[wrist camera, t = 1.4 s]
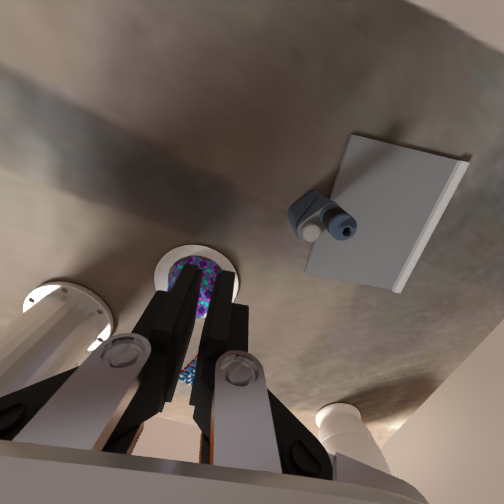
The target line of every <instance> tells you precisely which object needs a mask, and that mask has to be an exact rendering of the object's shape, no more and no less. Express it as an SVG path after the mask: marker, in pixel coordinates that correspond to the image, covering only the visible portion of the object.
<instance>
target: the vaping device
mask: <svg viewBox="0 0 504 504" xmlns="http://www.w3.org/2000/svg"><path fill="white" fill-rule="evenodd" d="M288 218H289V221H290V223H291V225H292V227H293V230H294V232H295V234H296V236H297V237H298V238H300V239H302V240H304V241H305V242H307V243H314V242H316V241H318V240H319V238H320V237H321V235H322V234H324V233H325V232H327V231H328V232H329V233H330V234H331V235H332V237H333V238H335V239H336V240H340V241H344V240H347V239H349V238H351V237H352V236H353V235H354V234H355V233H356V230H357V222H356V220H355V219H354V218H353V217H352V216H351V215H350V214H348V213H347V212H346V211H345V210H343V209H342V208H341V206H340V205H338V204H337V202H334V201H333V200H331V199H328V198H326V197H325V196H323V195H322V194H321V193H320V192H319V191H317V190H313V191H311V192H310V193H308V194H307V195H306V196H304V197H303V198H302V199H300V200H299V201H297V202H296V203H295V204H293V205H292V206H291V207H290V208H289V211H288Z"/></svg>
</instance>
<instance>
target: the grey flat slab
mask: <svg viewBox="0 0 504 504" xmlns="http://www.w3.org/2000/svg"><path fill="white" fill-rule="evenodd" d="M468 165H469V163H468V162H464V161H459V160H454V159H450V158H446V157H442V156H438V155H434V154H430V153H426V152H422V151H418V150H414V149H410V148H406V147H401V146H397V145H393V144H389V143H385V142H381V141H377V140H373V139H369V138H365V137H361V136H357V135H353V134H350V137H349V140H348V143H347V146H346V149H345V152H344V155H343V158H342V161H341V163H340V166H339V169H338V172H337V175H336V178H335V181H334V184H333V187H332V190H331V193H330V196H329V199H331V200H333V201H334V202H337V204H338V205H340V206H341V208H342V209H343V210H345V211H346V212H347V213H348V214H350V215H351V216H352V217H353V218H354V219H355V220H356V222H357V230H356V233H355V234H354V235H353V236H352V237H351V238H349V239H347V240H344V241H340V240H336V239H335V238H333V237H332V235H331V234H330V233H329V232H328V231H327V232H325V233H324V234H322V235H321V237H320V238H319V240H318V241H316V242H314V243H313V246H312V249H311V252H310V255H309V258H308V261H307V264H306V267H305V270H304V272H305V273H307V274H312V275H317V276H323V277H328V278H333V279H338V280H343V281H349V282H354V283H359V284H364V285H369V286H375V287H380V288H385V289H390V290H392V291H393V292H396V293H401V291H402V289H403V287H404V285H405V283H406V281H407V280H408V278H409V276H410V274H411V272H412V270H413V268H414V266H415V265H416V263H417V261H418V259H419V257H420V255H421V253H422V251H423V250H424V248H425V246H426V244H427V242H428V240H429V238H430V237H431V235H432V233H433V231H434V229H435V227H436V225H437V223H438V222H439V220H440V218H441V216H442V214H443V212H444V210H445V208H446V207H447V205H448V203H449V201H450V199H451V197H452V195H453V193H454V192H455V190H456V188H457V186H458V184H459V182H460V180H461V178H462V177H463V175H464V173H465V171H466V169H467V167H468Z"/></svg>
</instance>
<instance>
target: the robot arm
mask: <svg viewBox="0 0 504 504" xmlns="http://www.w3.org/2000/svg"><path fill="white" fill-rule="evenodd" d="M235 273H236V272H232V271H227V270H223V272H222V273H219V272H217V275H216V279H215V283H214V287H213V291H212V295H211V299H210V303H209V307H208V311H207V315H206V318H205V322H204V326H203V330H202V335H201V340H200V345H199V351H198V356H197V362H196V368H195V374H194V379H193V385H192V391H191V397H190V402H189V405H193V406H195V409H194V415H193V419H194V421H195V422H196V423H197V425H198V426H199V428H200V429H201V436H200V451H199V463H193V462H184V461H176V460H167V459H160V458H151V457H142V456H135V455H131V454H132V452H133V450H134V448H135V445H136V443H137V441H138V439H139V437H140V435H141V433H142V431H143V429H144V426H145V423H146V420H148V419H149V418H151V417H152V416H154V415H156V414H157V413H158V412H162V410H163V407H164V404H165V402H171V401H172V398H173V395H174V392H175V388H176V385H177V382H178V378H179V375H180V372H181V368H182V365H183V362H184V358H185V355H186V352H187V349H188V345H189V342H190V339H191V335H192V332H193V329H194V324H195V319H196V313H197V306H198V300H199V294H200V287H201V281H202V275H203V269H199V265H195V264H190V263H185V264H184V266H183V268H182V270H181V272H180V274H179V275H178V277H177V279H176V281H175V283H174V285H173V287H172V289H171V291H170V292H168V291H162V290H157V292H156V293H155V295H154V296H153V298H152V300H151V301H150V303H149V304H148V306H147V308H146V309H145V311H144V313H143V314H142V316H141V317H140V319H139V321H138V322H137V324H136V326H135V327H134V329H133V331H132V332H131V333H121V334H118V335H114V336H112V337H110V335H111V334H112V331H113V327H114V321H113V317H112V314H111V312H110V310H109V308H108V306H107V305H106V304H105V302H104V301H103V300H102V299H101V298H100V297H99V296H97V295H96V294H95V293H93V292H92V291H90V290H88V289H86V288H85V287H82V286H80V285H77V284H74V283H69V282H59V281H57V282H49V283H46V284H42V285H41V286H39V287H37V288H36V289H34V290H33V291H32V292H31V293H29V295H28V296H27V297H26V299H25V302H24V307H23V311H24V313H22V314H21V315H20V316H18V317H17V318H16V319H14V320H13V321H12V322H11V323H9V324H8V325H7V326H5V327H4V328H3V329H2V330H0V504H429V503H428V502H427V500H426V499H425V498H424V496H423V495H422V494H421V493H420V492H419V491H418V490H417V489H416V488H415V487H413V486H412V485H410V484H409V483H407V482H405V481H404V480H401V479H399V478H396V477H394V476H392V475H390V474H387V473H385V472H383V471H380V470H378V469H376V468H373V467H371V466H369V465H366V464H364V463H362V462H359V461H357V460H355V459H352V458H350V457H348V456H345V455H343V454H341V453H339V452H336V453H335V455H333V454H330V453H328V452H327V451H326V449H325V448H324V446H323V445H322V444H321V443H320V441H319V440H318V439H317V438H316V437H315V436H314V435H313V434H312V433H311V432H310V431H309V430H308V429H307V428H306V427H305V426H304V425H303V424H302V423H301V422H300V421H299V420H298V419H297V418H296V417H295V416H294V415H293V414H292V413H291V412H290V411H289V410H288V409H287V408H286V407H285V406H284V405H283V404H282V403H281V402H280V401H279V400H278V399H277V398H276V397H275V396H274V395H273V394H272V393H271V392H270V391H269V390H268V389H267V386H266V381H265V375H264V370H263V367H262V365H261V363H260V362H259V360H258V359H257V358H256V357H254V356H253V355H252V354H250V353H248V319H249V306H247V305H241V304H236V303H232V299H233V290H234V282H235ZM109 337H110V338H109ZM91 350H94V351H93V352H92V353H91V354H90V355H89V357H88V358H87V359H86V360H85V361H84V362H83V363H82V364H81V365H80V366H78V363H77V362H78V361H79V359H80V358H81V357H82V356H83V354H84V353H85V352H87V351H91Z"/></svg>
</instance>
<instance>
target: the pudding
mask: <svg viewBox="0 0 504 504" xmlns="http://www.w3.org/2000/svg"><path fill="white" fill-rule="evenodd" d="M193 255H196V256H203V257H206V258H209V259H211V260H213V261H214V262H216V263H217V264H218V265H219V266H220V267H221V269H222V270H227V271H232V272H236V271H235V269H234V267H233V265H232V264H231V263H230V262H229V260H228V259H227V258H226V257H224V256H223V255H222V254H221V253H219V252H217V251H216V250H213V249H211V248H209V247H205V246H201V245H185V246H181V247H177V248H175V249H173V250H171V251H169V252H168V253H166V254H165V255H164V256H163V257H162V258H161V259H160V261H159V262H158V264H157V266H156V269H155V273H154V284H155V287H156V290H162V291H168V292H170V291H171V289H172V287H173V285H174V283H175V281H176V279H177V277H178V275H179V274H180V272H181V270H182V268H183V266H184V264H185V263H190V264H195V265H199V269H203V275H202V281H201V287H200V294H199V300H198V306H197V313H196V318H201V317H206V315H207V311H208V307H209V303H210V299H211V295H212V291H213V287H214V283H215V279H216V275H217V272H219V271H218V266H217V265H216V264H215V263H214V262H212V261H210V260H208V261H204V260H202V259H201V258H200V257H196V256H193ZM186 256H193V257H189V258H188V260H187V261H183V260H180V261H178V260H179V259H181V258H183V257H186ZM176 261H178V262H176ZM175 262H176V263H175ZM174 263H175V265H174V267H173V272H171V273H170V274H169V277H168V273H169V270H170V268H171V267H172V265H173V264H174ZM219 273H221V272H219ZM237 292H238V277H237V274H236V273H235V282H234V290H233V299H232V302H233V301H234V299H235V297H236V295H237Z"/></svg>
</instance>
